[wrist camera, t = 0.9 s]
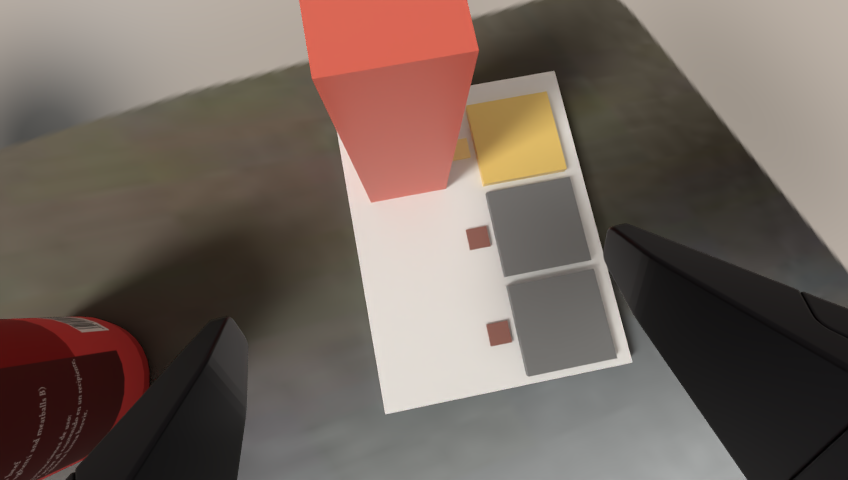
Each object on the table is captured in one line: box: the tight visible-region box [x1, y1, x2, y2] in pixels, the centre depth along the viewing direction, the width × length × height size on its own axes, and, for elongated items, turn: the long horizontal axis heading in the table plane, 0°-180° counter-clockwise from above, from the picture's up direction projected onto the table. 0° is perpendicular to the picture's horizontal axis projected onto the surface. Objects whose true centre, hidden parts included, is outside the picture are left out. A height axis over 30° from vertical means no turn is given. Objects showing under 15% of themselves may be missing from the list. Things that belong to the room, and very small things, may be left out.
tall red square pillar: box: [299, 0, 479, 203], centre depth 17 cm, size 4×4×13 cm
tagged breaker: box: [465, 91, 567, 186], centre depth 24 cm, size 5×5×1 cm
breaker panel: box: [337, 71, 632, 414], centre depth 23 cm, size 18×14×1 cm
